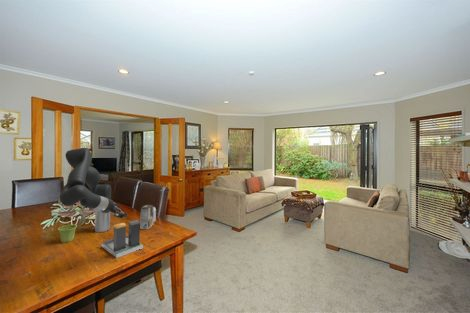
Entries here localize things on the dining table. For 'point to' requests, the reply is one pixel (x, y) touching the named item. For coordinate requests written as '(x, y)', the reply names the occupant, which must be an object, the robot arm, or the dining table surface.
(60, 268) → the dining table surface
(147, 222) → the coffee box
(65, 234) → the plant pot
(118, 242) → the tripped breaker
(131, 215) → the dining table surface
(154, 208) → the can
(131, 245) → the twin post stand
